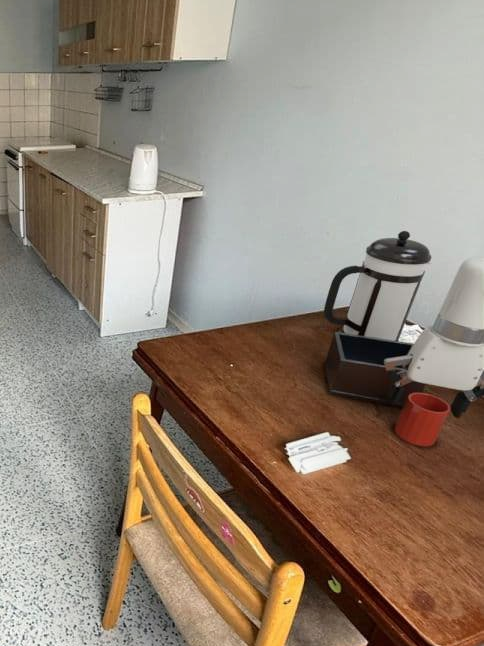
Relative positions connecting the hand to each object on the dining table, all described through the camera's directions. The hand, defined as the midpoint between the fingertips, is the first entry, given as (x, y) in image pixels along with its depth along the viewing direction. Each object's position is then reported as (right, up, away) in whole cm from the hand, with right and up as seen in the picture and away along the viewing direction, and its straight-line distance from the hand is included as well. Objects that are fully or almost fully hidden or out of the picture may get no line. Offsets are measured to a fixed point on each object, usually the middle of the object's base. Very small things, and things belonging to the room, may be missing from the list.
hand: (423, 406), depth 90 cm
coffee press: (+13, +11, +35) cm, 39 cm away
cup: (+1, -6, +3) cm, 7 cm away
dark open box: (+2, +2, +18) cm, 18 cm away
